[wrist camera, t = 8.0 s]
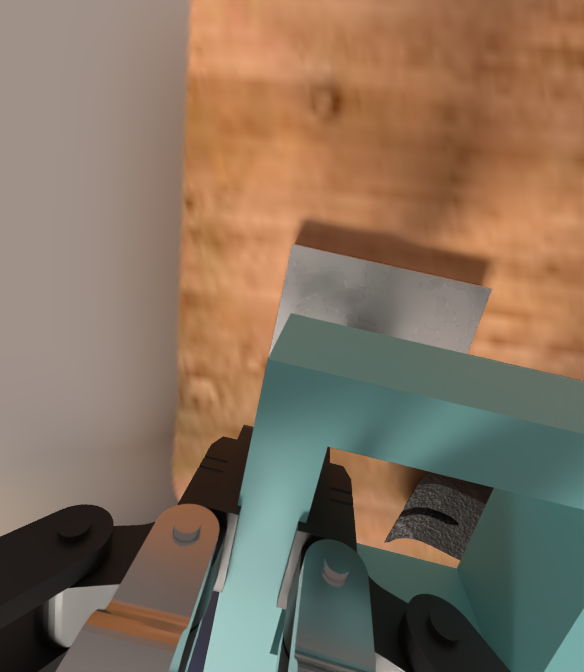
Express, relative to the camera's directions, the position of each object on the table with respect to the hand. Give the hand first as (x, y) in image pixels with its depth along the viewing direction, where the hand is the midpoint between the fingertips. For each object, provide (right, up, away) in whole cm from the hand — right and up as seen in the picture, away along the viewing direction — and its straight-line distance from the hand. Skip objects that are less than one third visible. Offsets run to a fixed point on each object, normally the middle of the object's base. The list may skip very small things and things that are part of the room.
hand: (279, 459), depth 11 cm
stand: (+5, +3, +13) cm, 14 cm away
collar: (+4, -1, 0) cm, 4 cm away
